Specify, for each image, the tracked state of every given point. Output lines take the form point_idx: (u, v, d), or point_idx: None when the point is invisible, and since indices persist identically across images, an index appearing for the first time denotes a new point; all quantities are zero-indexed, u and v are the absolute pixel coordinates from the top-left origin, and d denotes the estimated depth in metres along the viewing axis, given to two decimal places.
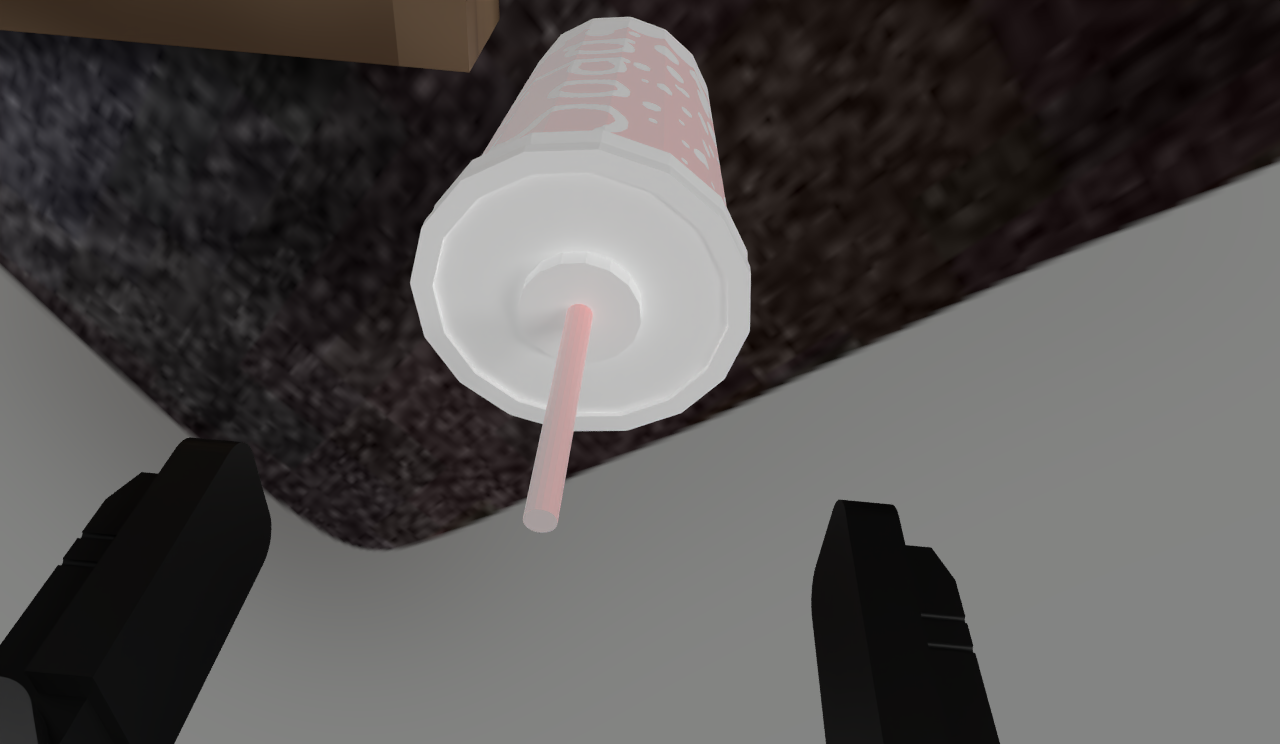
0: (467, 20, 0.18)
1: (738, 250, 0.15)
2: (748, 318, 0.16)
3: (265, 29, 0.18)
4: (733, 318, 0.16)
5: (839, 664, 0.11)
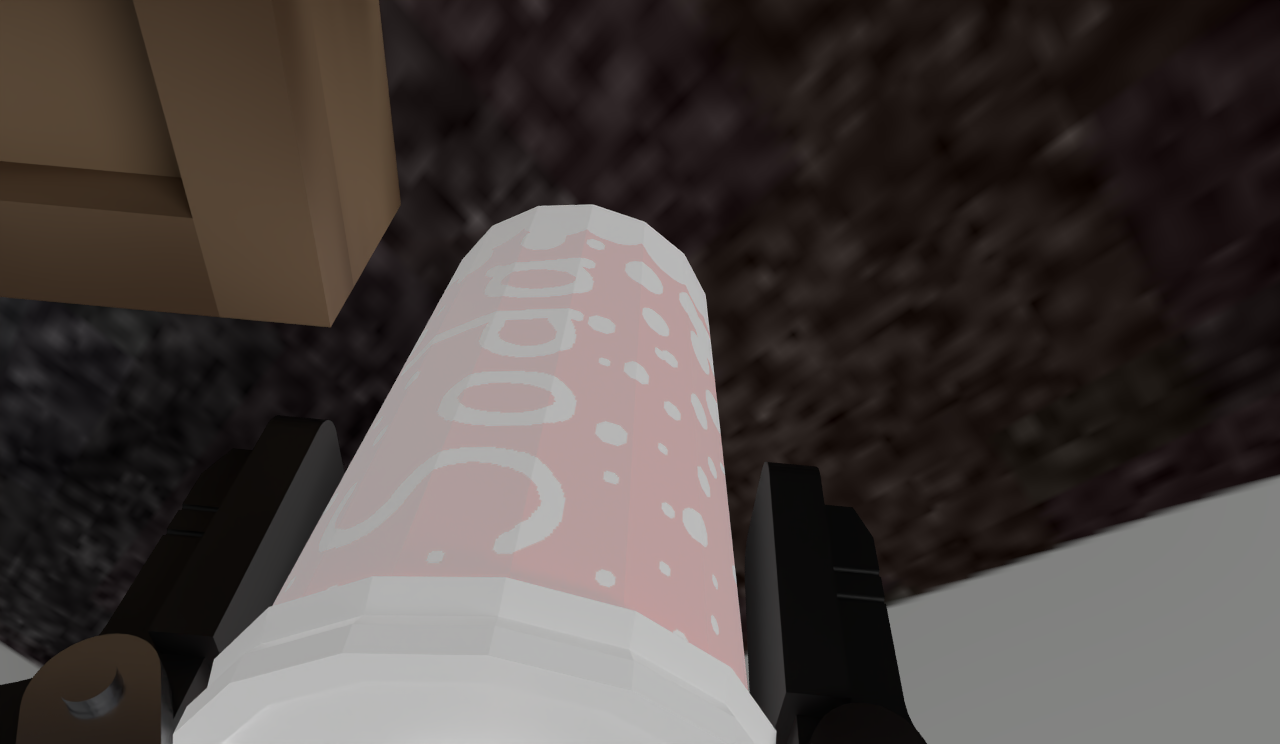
0: (320, 257, 0.11)
1: None
2: None
3: (1, 265, 0.12)
4: None
5: (760, 617, 0.11)
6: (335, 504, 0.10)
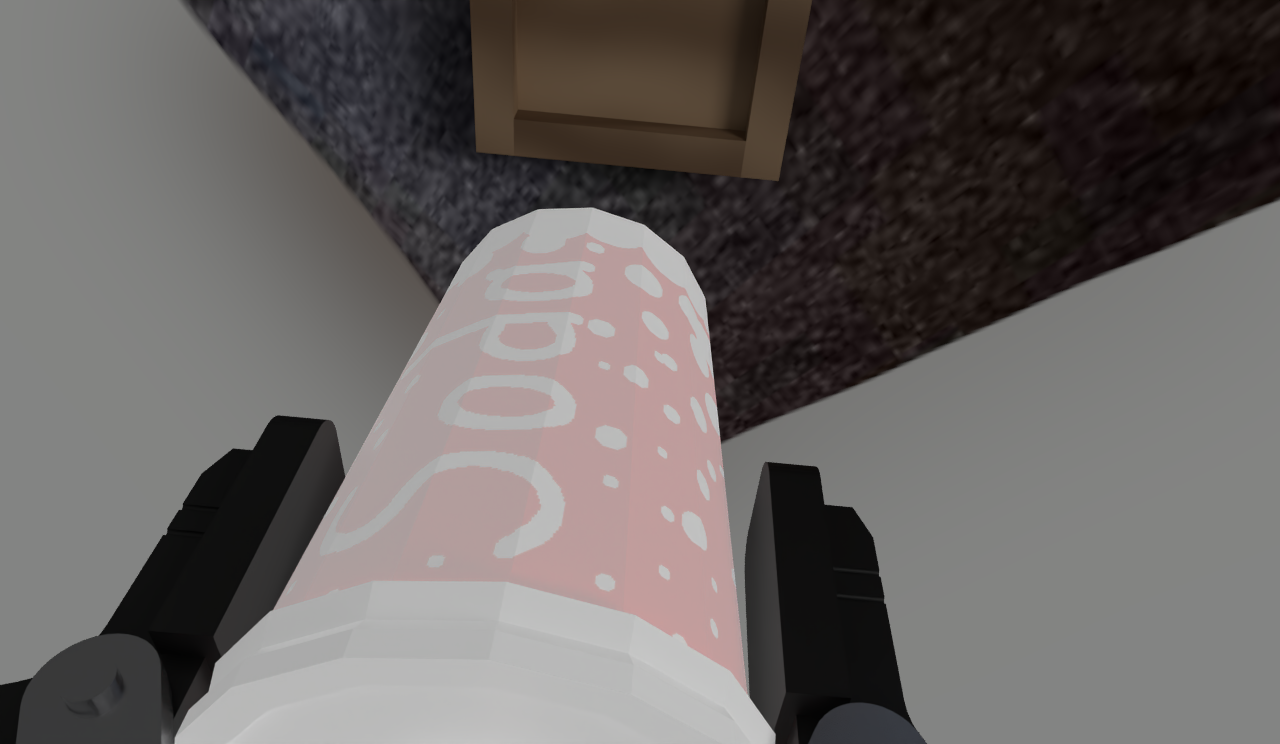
0: (782, 155, 0.34)
1: None
2: None
3: (672, 158, 0.35)
4: None
5: (760, 617, 0.11)
6: (336, 507, 0.10)
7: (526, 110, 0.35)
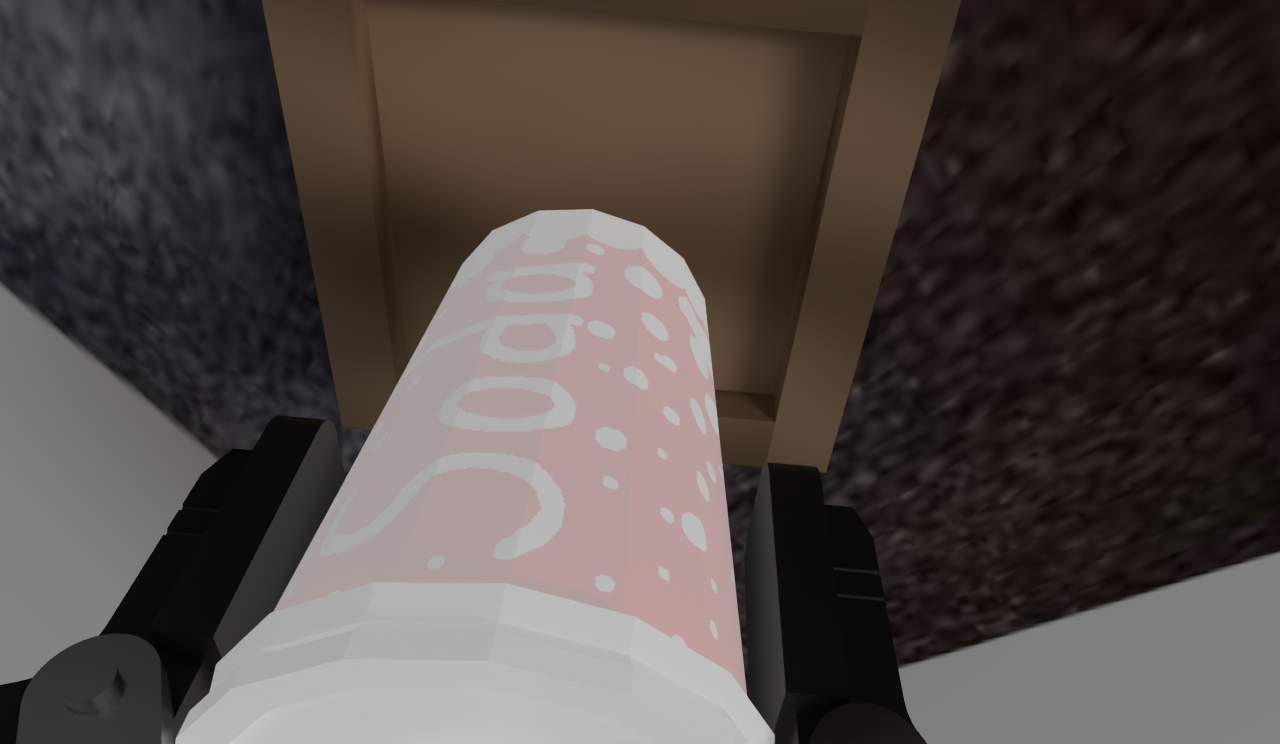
0: (834, 439, 0.21)
1: None
2: None
3: None
4: None
5: (760, 617, 0.11)
6: (336, 509, 0.10)
7: None
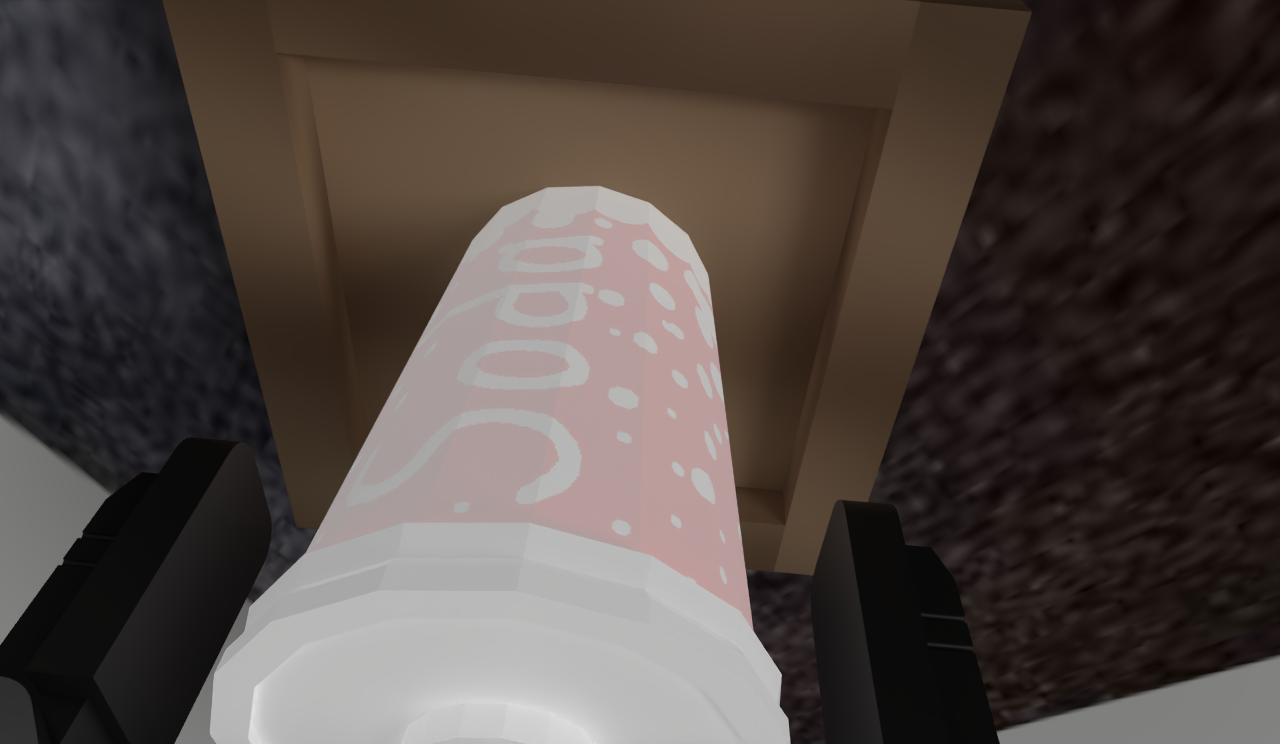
0: None
1: (770, 717, 0.09)
2: None
3: None
4: None
5: (839, 664, 0.11)
6: (359, 465, 0.11)
7: None
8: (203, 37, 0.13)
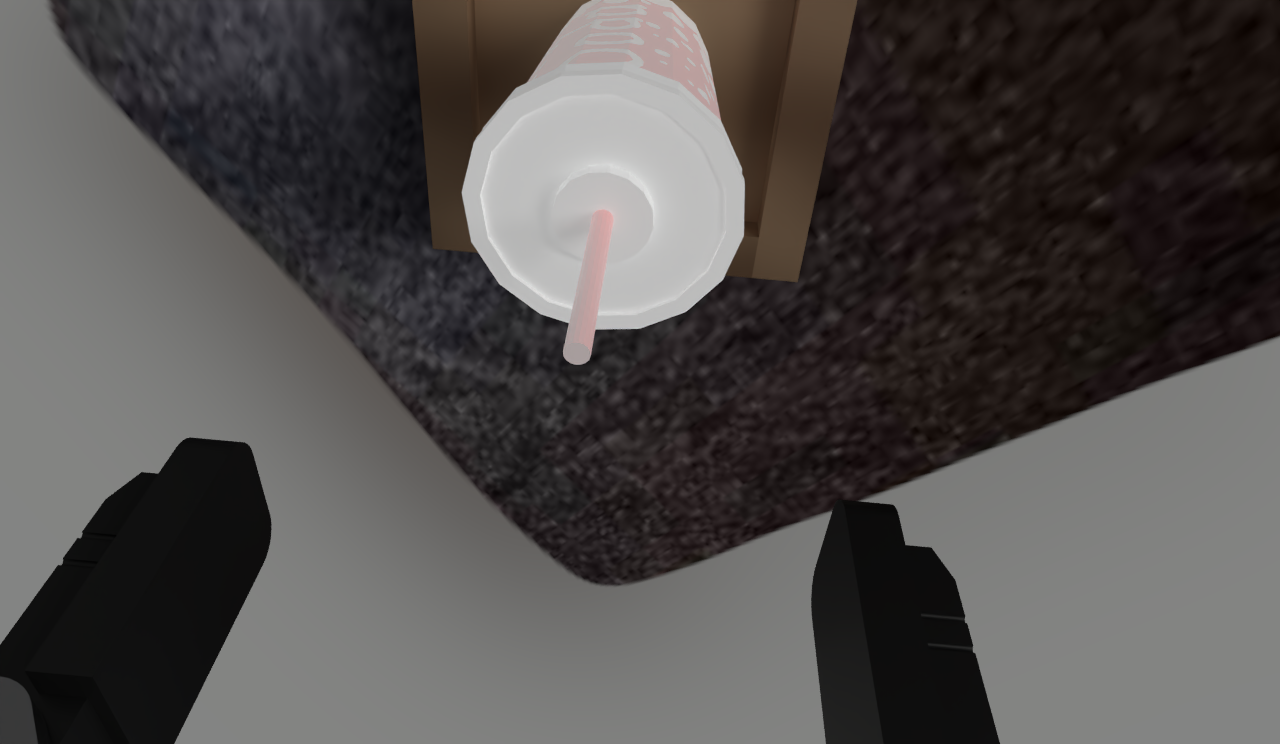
0: (803, 252, 0.28)
1: (734, 162, 0.18)
2: (743, 223, 0.19)
3: None
4: (730, 224, 0.19)
5: (839, 664, 0.11)
6: None
7: None
8: None
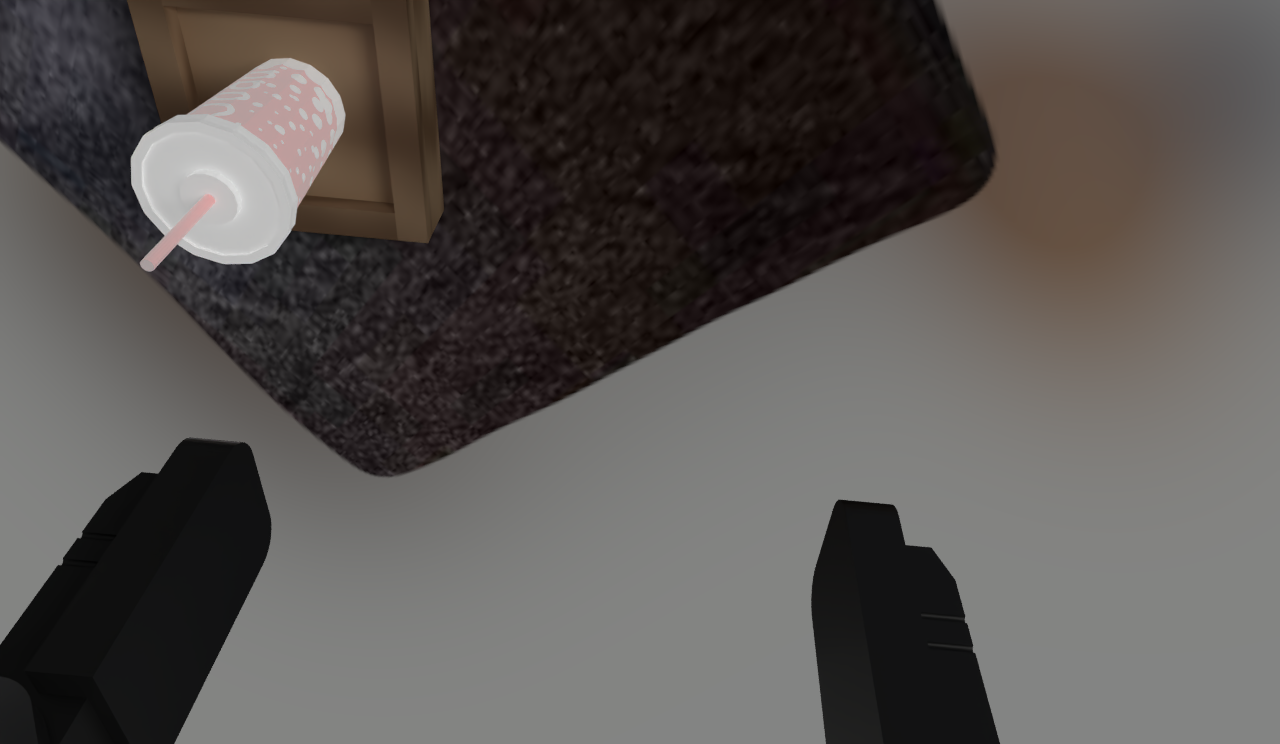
0: (426, 223, 0.44)
1: (272, 168, 0.33)
2: (288, 202, 0.34)
3: (341, 226, 0.44)
4: (282, 202, 0.34)
5: (839, 664, 0.11)
6: None
7: None
8: (137, 0, 0.38)
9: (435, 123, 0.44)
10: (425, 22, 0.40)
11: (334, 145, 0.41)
